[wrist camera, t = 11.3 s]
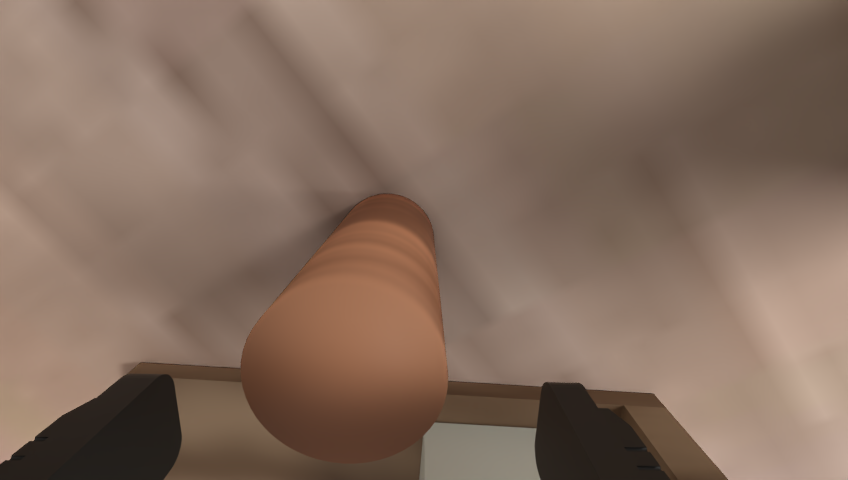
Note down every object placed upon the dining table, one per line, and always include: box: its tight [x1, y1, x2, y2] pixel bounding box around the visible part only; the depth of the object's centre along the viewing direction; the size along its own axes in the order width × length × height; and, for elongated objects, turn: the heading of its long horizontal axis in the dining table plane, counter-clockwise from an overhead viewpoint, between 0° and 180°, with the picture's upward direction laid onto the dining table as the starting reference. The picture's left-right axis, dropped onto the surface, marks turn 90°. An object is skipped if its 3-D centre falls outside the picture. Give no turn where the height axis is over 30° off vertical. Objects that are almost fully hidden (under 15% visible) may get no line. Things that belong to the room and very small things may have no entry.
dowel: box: [241, 194, 448, 464], centre depth 12 cm, size 4×4×10 cm
